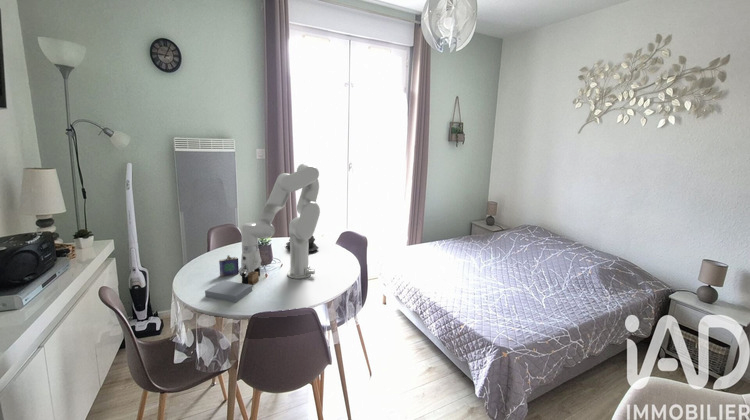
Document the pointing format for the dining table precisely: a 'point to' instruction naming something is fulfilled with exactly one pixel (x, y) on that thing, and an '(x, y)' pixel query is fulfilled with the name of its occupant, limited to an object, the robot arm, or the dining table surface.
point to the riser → (228, 291)
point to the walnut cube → (253, 277)
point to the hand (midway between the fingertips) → (251, 279)
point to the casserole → (311, 244)
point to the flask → (229, 266)
